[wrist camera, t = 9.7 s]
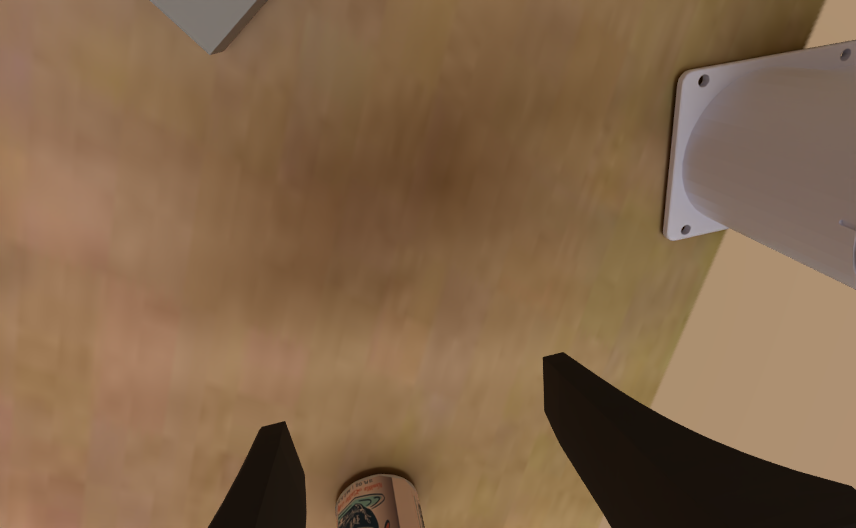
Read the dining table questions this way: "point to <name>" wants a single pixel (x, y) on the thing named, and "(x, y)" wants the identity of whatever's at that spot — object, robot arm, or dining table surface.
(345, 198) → the dining table surface
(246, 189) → the dining table surface
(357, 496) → the beer can
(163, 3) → the socket
